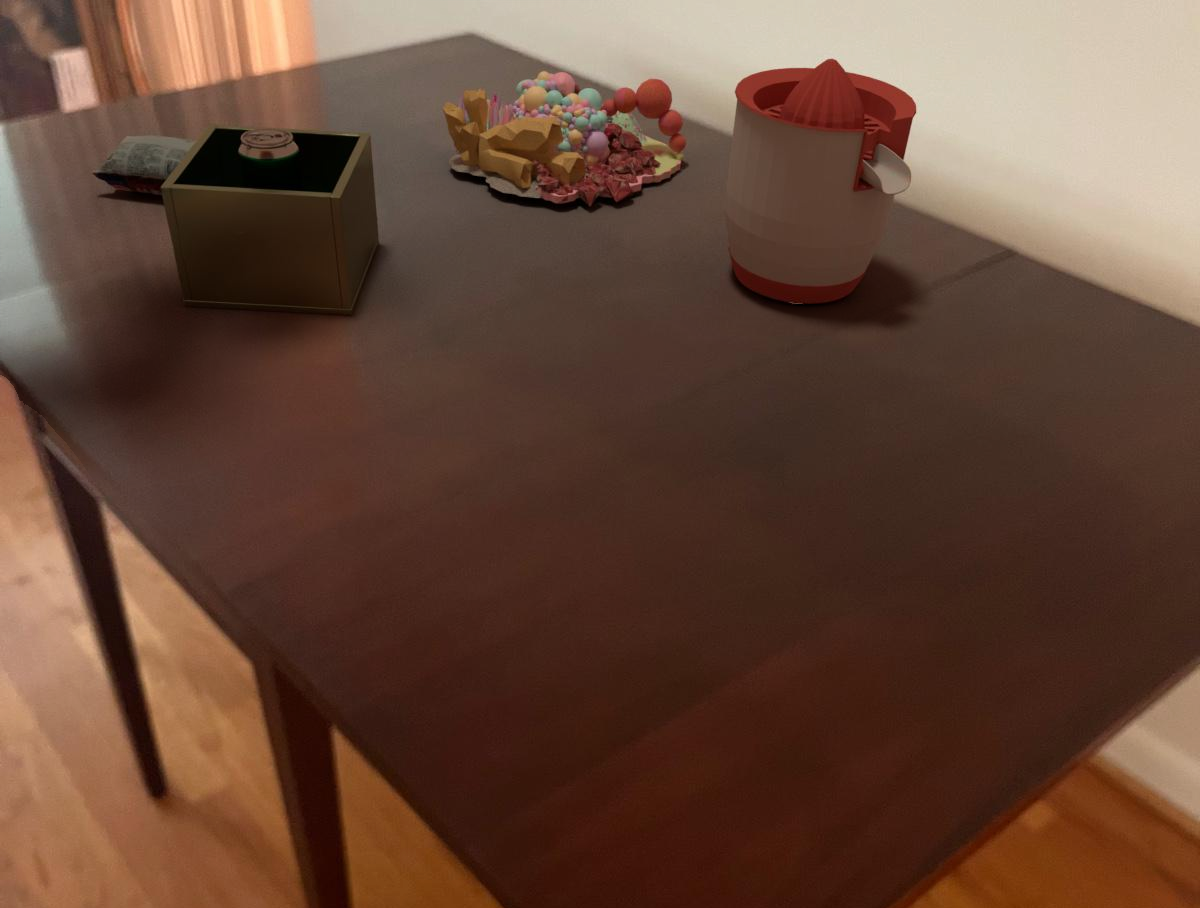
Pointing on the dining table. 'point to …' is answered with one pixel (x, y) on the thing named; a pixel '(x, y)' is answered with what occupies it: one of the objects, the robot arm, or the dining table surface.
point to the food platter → (565, 139)
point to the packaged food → (143, 162)
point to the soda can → (270, 160)
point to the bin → (274, 225)
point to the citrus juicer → (813, 178)
